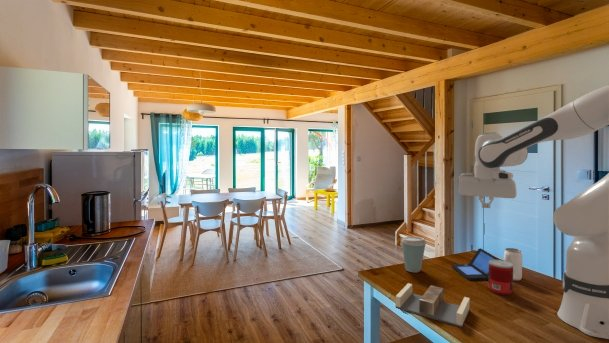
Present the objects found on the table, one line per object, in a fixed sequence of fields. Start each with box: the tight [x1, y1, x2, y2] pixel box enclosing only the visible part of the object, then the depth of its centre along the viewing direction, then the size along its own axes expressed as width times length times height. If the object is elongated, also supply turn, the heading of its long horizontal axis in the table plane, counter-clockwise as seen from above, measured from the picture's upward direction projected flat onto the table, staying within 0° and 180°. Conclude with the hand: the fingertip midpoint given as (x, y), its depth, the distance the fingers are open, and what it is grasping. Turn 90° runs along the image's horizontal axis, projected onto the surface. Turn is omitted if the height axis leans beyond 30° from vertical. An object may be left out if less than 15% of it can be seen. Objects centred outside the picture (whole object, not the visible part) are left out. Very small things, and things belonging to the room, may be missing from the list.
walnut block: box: [419, 284, 444, 315], centre depth 109 cm, size 4×4×14 cm
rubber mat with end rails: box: [395, 282, 471, 328], centre depth 107 cm, size 21×13×4 cm, turn 53°
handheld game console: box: [451, 248, 500, 281], centre depth 138 cm, size 16×13×9 cm
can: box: [503, 247, 523, 281], centre depth 132 cm, size 6×6×12 cm
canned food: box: [487, 259, 514, 296], centre depth 120 cm, size 8×8×11 cm
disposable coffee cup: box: [401, 236, 427, 273], centre depth 142 cm, size 11×11×15 cm
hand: (485, 207), depth 126 cm, fingers closed
